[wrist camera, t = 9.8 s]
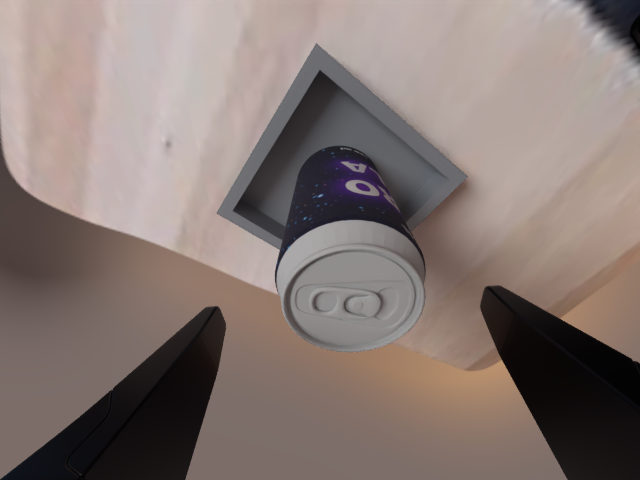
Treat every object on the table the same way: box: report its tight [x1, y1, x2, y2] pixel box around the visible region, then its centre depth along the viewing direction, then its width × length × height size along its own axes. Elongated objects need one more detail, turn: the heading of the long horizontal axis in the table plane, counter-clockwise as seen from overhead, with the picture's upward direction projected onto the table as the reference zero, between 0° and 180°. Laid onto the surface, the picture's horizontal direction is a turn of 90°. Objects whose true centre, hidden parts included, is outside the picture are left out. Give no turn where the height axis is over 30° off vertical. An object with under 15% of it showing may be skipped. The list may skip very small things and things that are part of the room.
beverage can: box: [275, 146, 426, 352], centre depth 15 cm, size 6×6×12 cm
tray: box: [217, 43, 468, 250], centre depth 19 cm, size 12×12×3 cm
